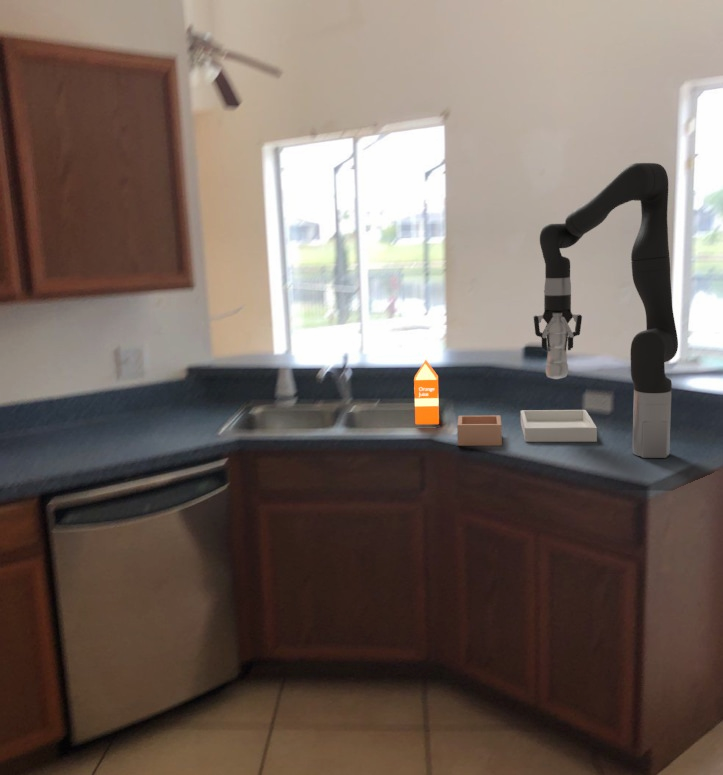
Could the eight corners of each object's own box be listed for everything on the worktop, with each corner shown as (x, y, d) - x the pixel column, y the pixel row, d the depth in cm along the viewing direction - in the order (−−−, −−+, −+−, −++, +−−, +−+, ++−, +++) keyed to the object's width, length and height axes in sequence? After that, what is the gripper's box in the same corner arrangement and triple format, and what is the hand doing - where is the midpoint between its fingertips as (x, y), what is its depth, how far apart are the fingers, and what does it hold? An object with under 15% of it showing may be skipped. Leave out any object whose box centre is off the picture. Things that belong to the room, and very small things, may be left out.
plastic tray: (596, 441, 219) (596, 427, 218) (525, 441, 222) (525, 428, 221) (585, 422, 242) (585, 409, 242) (520, 422, 245) (520, 410, 245)
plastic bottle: (541, 378, 231) (541, 311, 227) (560, 376, 233) (560, 310, 230) (553, 381, 225) (553, 313, 221) (573, 379, 227) (573, 311, 224)
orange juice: (439, 418, 257) (437, 358, 253) (439, 424, 248) (437, 362, 244) (415, 418, 258) (414, 359, 254) (414, 424, 249) (413, 363, 245)
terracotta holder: (501, 445, 219) (501, 424, 218) (457, 445, 221) (457, 425, 220) (500, 434, 231) (500, 415, 230) (458, 434, 233) (458, 415, 232)
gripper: (533, 295, 222) (533, 352, 225) (584, 293, 220) (584, 351, 223) (531, 293, 229) (531, 349, 232) (581, 291, 227) (580, 348, 230)
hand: (557, 350), depth 227 cm, fingers closed on plastic bottle, 6 cm apart
